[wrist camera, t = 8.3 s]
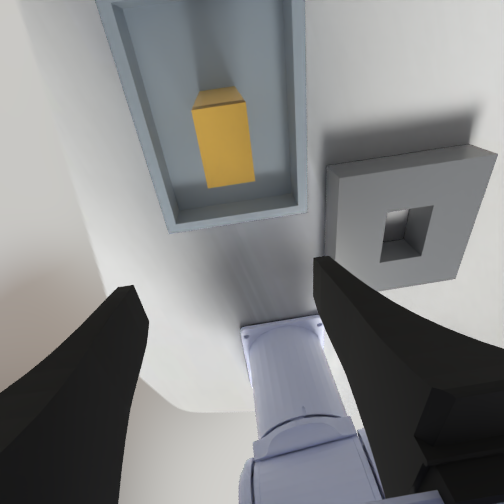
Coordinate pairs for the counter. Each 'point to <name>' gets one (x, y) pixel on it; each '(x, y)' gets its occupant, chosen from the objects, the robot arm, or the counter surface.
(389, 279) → the socket block
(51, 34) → the counter surface
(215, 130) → the block
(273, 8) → the parts tray
